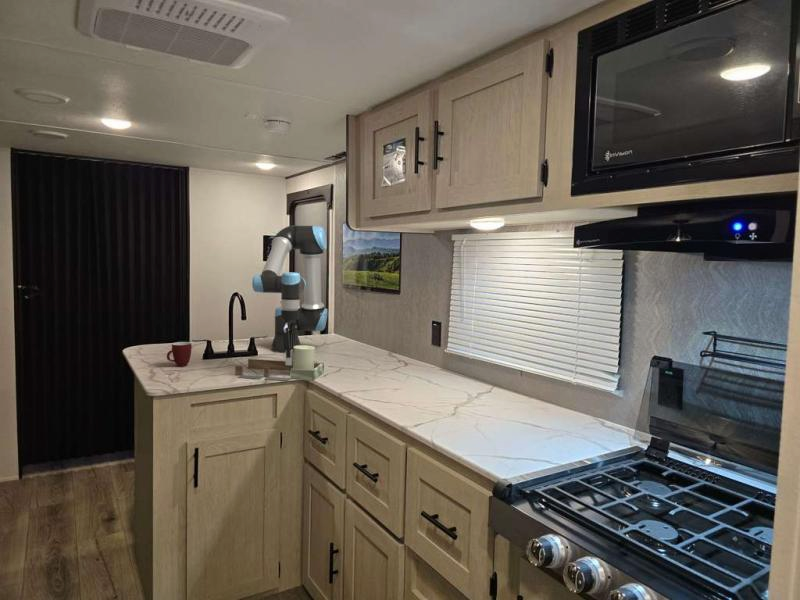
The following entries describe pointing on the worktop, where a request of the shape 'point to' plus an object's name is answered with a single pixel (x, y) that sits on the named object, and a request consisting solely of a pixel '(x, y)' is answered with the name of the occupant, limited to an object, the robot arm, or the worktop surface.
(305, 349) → the can
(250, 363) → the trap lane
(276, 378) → the mats
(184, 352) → the mug
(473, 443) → the worktop surface
